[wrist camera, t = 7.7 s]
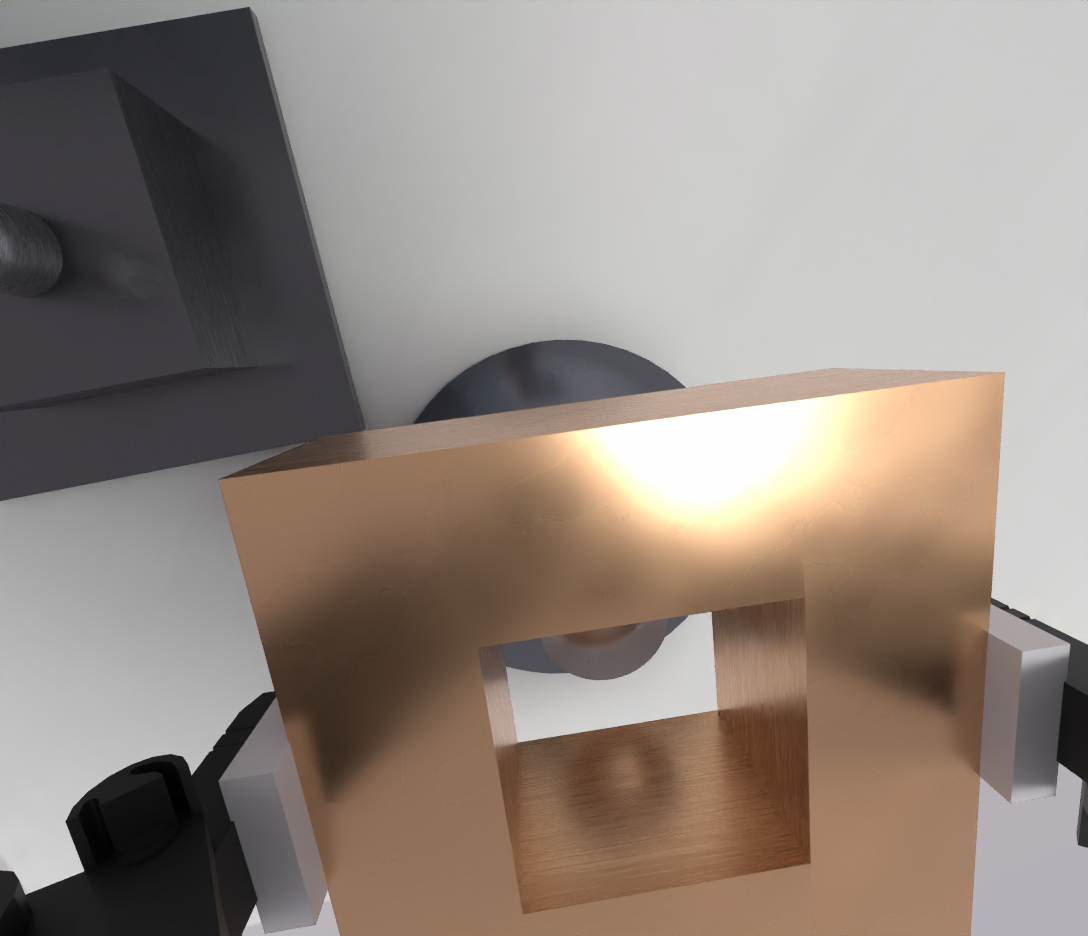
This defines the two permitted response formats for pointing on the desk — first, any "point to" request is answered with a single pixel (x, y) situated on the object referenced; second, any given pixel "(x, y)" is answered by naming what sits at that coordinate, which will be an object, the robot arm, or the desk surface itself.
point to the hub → (550, 381)
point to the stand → (156, 259)
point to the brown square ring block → (633, 597)
